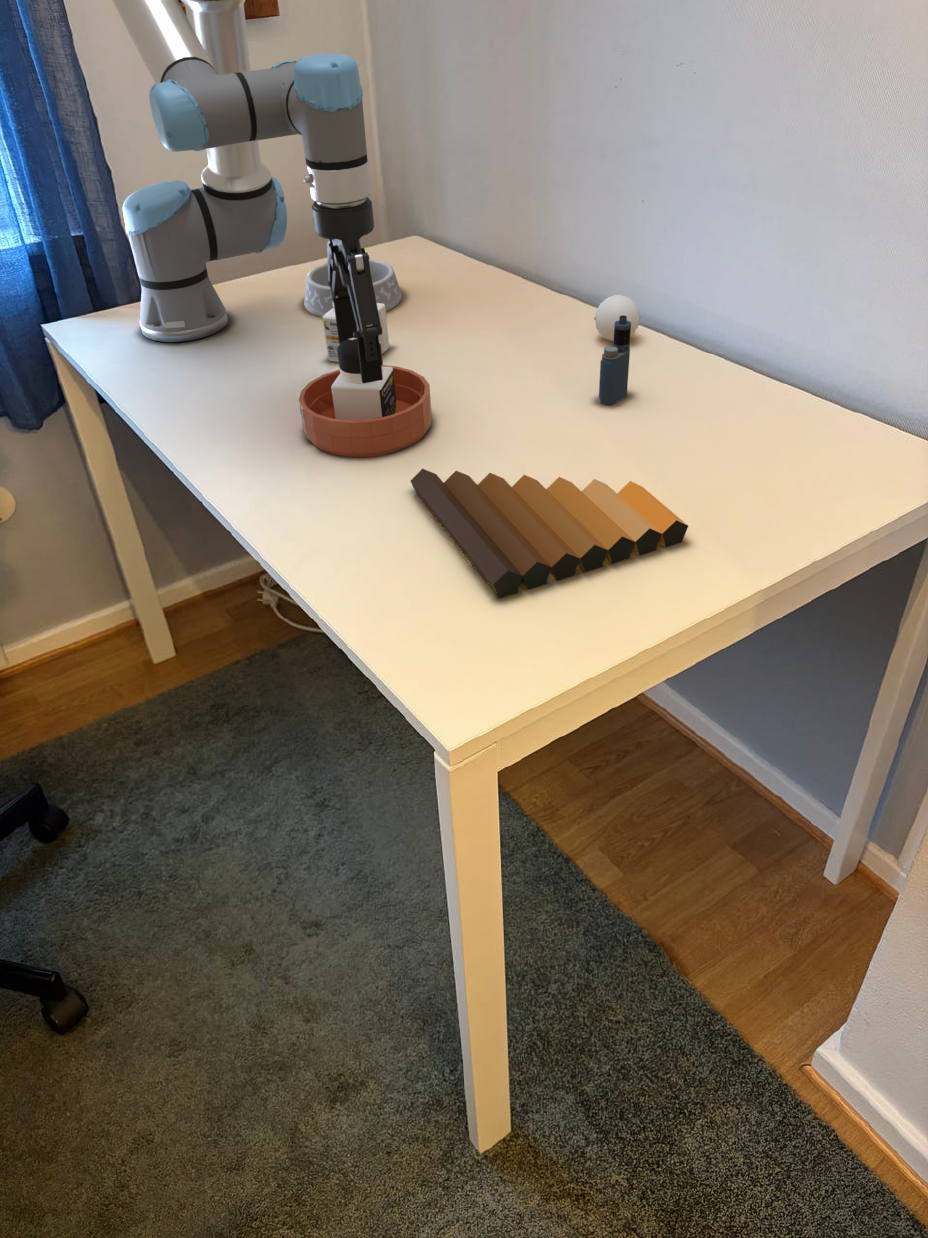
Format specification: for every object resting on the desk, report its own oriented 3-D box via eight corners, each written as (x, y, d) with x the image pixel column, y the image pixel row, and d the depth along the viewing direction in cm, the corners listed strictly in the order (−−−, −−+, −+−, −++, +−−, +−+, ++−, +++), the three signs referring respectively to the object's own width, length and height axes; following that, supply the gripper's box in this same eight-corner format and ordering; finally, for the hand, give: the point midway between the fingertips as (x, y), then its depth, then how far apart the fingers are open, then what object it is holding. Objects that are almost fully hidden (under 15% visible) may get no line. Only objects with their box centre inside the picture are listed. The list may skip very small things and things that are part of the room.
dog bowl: (399, 315, 172) (396, 286, 168) (298, 320, 172) (293, 290, 169) (405, 282, 185) (402, 254, 181) (311, 286, 186) (307, 258, 182)
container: (327, 361, 157) (316, 282, 149) (349, 343, 163) (339, 266, 155) (369, 366, 155) (360, 286, 147) (390, 348, 160) (382, 270, 152)
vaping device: (630, 394, 142) (636, 316, 135) (609, 407, 139) (613, 327, 132) (616, 390, 144) (621, 312, 136) (595, 402, 141) (598, 323, 133)
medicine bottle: (385, 435, 134) (376, 353, 127) (336, 432, 135) (325, 351, 128) (398, 412, 140) (390, 332, 132) (351, 409, 141) (341, 331, 133)
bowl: (294, 412, 143) (288, 378, 139) (411, 390, 147) (408, 356, 144) (319, 469, 129) (313, 432, 126) (448, 442, 133) (446, 406, 130)
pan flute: (411, 494, 123) (493, 600, 104) (409, 471, 121) (492, 575, 102) (582, 449, 130) (686, 540, 112) (582, 427, 128) (689, 516, 109)
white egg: (647, 343, 157) (650, 299, 152) (606, 351, 155) (609, 307, 150) (618, 322, 164) (620, 280, 160) (579, 330, 162) (580, 287, 158)
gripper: (292, 178, 127) (314, 332, 140) (333, 232, 108) (354, 403, 122) (347, 171, 129) (364, 324, 142) (397, 223, 110) (411, 392, 124)
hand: (360, 361), depth 132 cm, fingers open, 13 cm apart
